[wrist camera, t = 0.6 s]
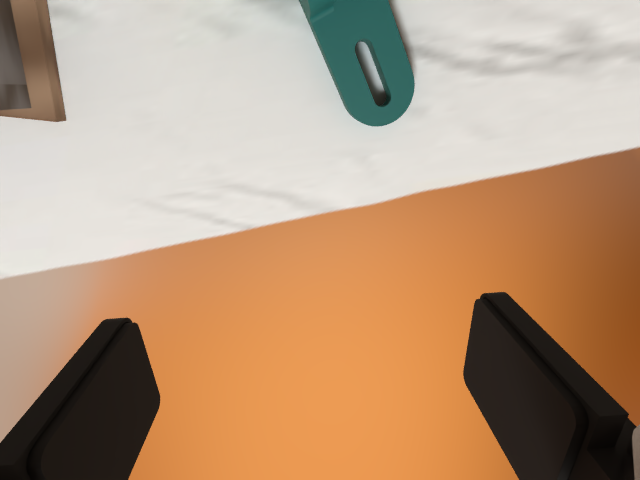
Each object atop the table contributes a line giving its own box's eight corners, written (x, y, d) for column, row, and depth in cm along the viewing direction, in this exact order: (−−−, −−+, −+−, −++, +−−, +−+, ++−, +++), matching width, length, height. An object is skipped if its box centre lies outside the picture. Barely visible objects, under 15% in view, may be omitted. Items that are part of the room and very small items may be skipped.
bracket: (273, -60, 30) (265, -107, 23) (344, -103, 29) (359, -166, 22) (357, 135, 37) (371, 146, 30) (416, 105, 36) (446, 109, 29)
